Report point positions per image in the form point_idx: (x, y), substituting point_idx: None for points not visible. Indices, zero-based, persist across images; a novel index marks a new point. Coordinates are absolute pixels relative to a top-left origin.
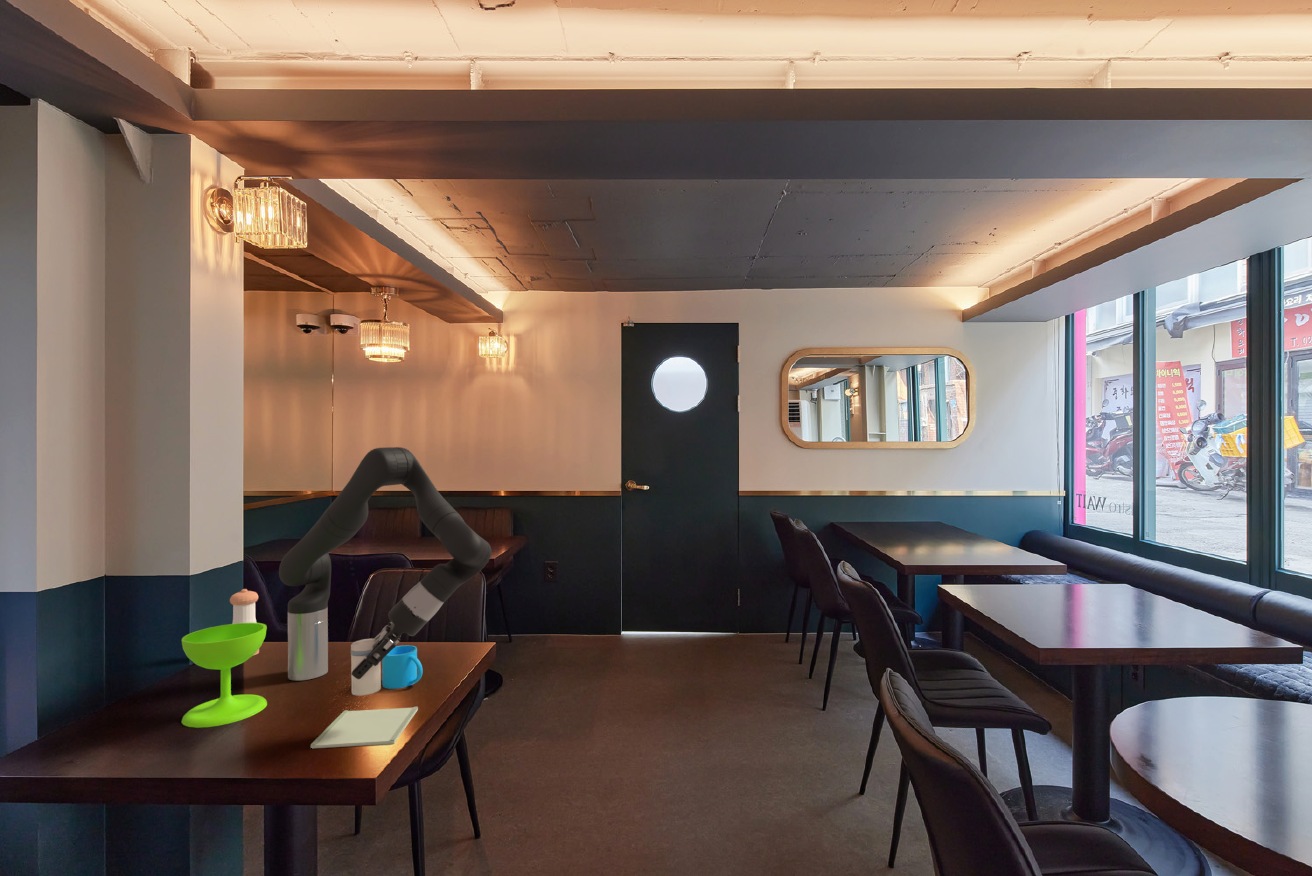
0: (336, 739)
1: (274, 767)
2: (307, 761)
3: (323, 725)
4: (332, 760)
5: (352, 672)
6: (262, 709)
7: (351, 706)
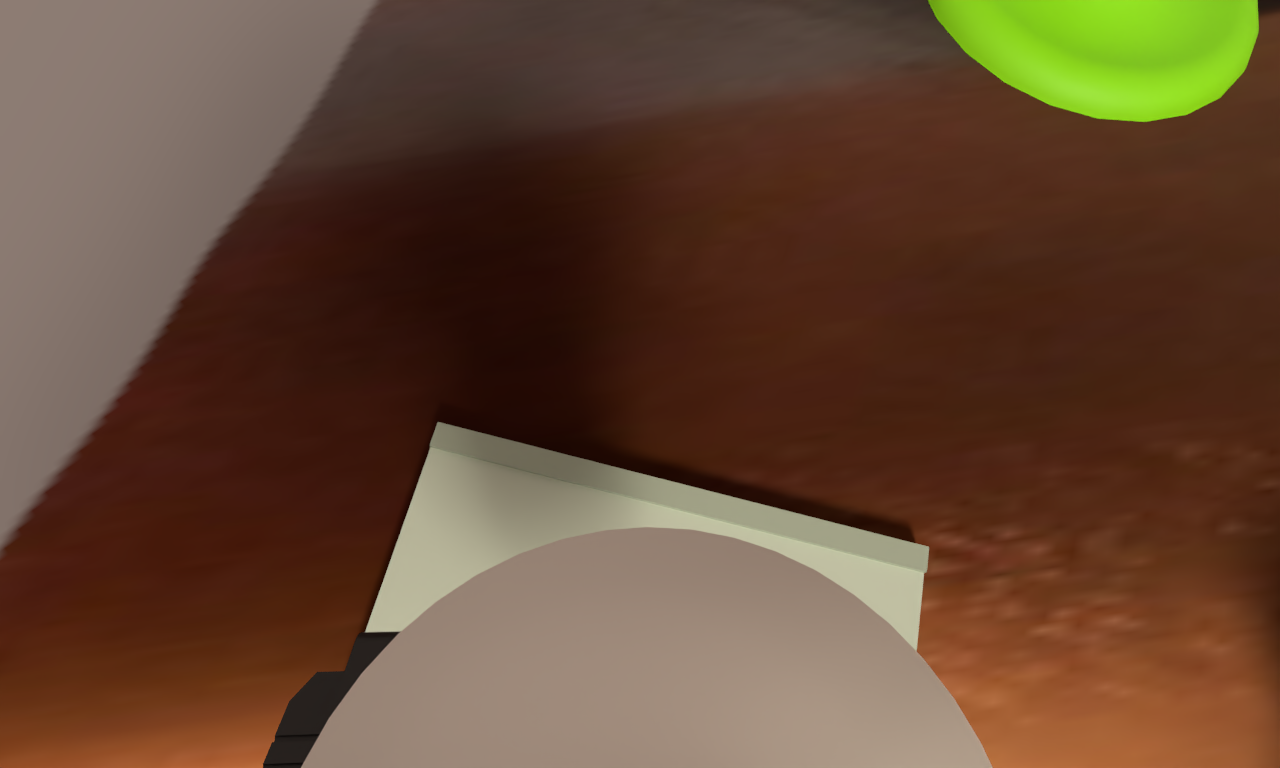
0: (458, 565)
1: (284, 288)
2: (267, 440)
3: (771, 448)
4: (197, 583)
5: (358, 644)
6: (1081, 112)
7: (1045, 580)
